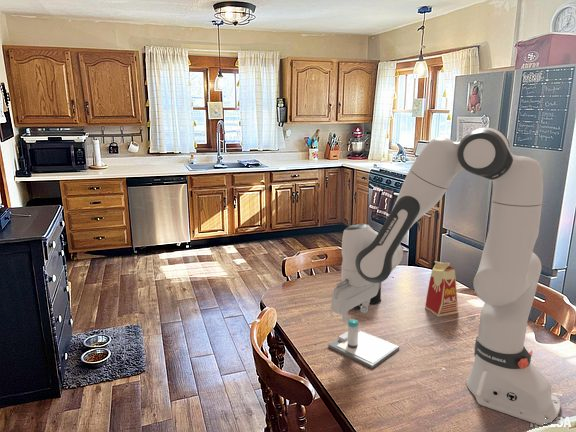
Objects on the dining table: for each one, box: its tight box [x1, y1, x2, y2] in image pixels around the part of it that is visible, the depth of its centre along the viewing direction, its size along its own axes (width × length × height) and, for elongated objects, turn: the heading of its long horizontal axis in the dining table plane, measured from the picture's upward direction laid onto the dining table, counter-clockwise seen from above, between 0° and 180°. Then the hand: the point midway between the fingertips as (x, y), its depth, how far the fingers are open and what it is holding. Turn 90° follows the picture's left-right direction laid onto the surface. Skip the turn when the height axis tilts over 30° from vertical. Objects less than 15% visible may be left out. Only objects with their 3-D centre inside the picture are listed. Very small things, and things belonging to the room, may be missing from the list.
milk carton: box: [424, 260, 459, 318], centre depth 163 cm, size 9×9×20 cm
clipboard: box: [328, 328, 400, 369], centre depth 139 cm, size 17×15×2 cm
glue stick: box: [347, 318, 359, 349], centre depth 138 cm, size 3×3×8 cm
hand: (355, 316), depth 136 cm, fingers open, 8 cm apart
